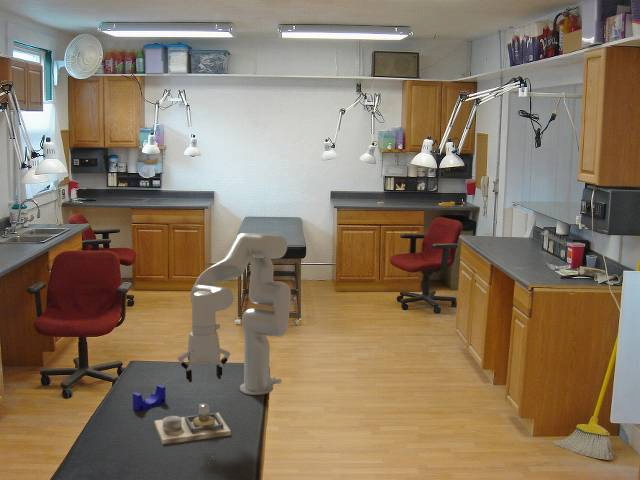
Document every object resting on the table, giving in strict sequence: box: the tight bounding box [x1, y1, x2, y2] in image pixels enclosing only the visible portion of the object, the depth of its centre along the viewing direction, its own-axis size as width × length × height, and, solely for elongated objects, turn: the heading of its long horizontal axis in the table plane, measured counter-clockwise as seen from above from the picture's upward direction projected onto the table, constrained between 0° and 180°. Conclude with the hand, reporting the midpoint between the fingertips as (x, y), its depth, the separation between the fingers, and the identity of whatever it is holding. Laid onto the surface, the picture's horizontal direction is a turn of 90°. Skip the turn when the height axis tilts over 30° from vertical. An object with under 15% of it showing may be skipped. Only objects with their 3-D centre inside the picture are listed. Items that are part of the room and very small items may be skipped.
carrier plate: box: [153, 412, 232, 445], centre depth 250 cm, size 22×16×4 cm
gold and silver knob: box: [193, 403, 215, 427], centre depth 251 cm, size 7×7×6 cm
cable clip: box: [132, 384, 166, 412], centre depth 270 cm, size 12×4×6 cm, turn 141°
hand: (204, 379), depth 249 cm, fingers open, 9 cm apart
